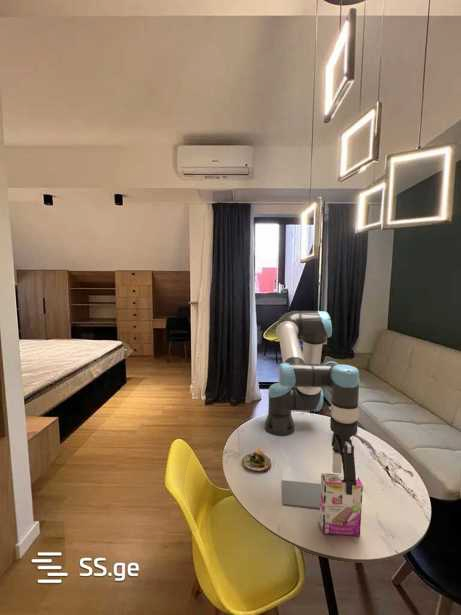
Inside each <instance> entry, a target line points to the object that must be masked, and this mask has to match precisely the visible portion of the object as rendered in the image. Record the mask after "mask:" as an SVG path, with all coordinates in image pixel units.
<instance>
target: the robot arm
mask: <svg viewBox="0 0 461 615" xmlns="http://www.w3.org/2000/svg"><path fill="white" fill-rule="evenodd" d="M332 326H333V325H332V320H331V316H330V314H329V313H328V312H327V311H323V310H321V311H320V310H291V311H289V312H286V313H284V314H283V315H282V316H281V317H280V318H279V319H278V320H277V322H276V324H275V335H276V337H277V339H278V340H279V345H280V353H281V358H282V363H279V365H278V381H279V382H275V383H273V384H271V385H270V386H269V388H268V394H267V396H268V407H267V408H268V410H267V411H268V413H267V417H266V420H265V422H264V429H265V431H266V432H267V433H268V434H271V435H273V436H276V437H277V436H280V437H285V436H290V435H292V434H293V433H295V422H294V420H293V416H292V411H304V412H305V411H306V412H319V411H320V410H321V409H322V408H323V404H324V390H323V388H329V389H330V391H331V392H330V394H331V395H330V397H331V398H330V405H331V406H328V409H329V410H330V420H329V421H330V423H329V424H330V426H329V427H330V430H331V431H332V432H333V433H332V439H331V443H330V445H331V447H332V451H333V452H332V470H331V472H332V474H341V475H344V479H343V480H341V481H342V482H343V491H342V503H343V504H352V505H353V489H354V486H356V485H357V483H356V475H357V473H356V464H355V463H356V462H355V446H354V445H353V441H352V439H351V437H355V436H356V435H357V434H358V425H359V424H358V420H359V390H360V389H359V388H360V382H361V381H360V371H359V369H358V368H357V367H355V366H352V365H349V364H339V363H338V362H336V361H327V362H324V363H321V361H322V360H321V359H322V350H323V345H324V344H325V343H326V342H327V338H331V337H332V335H333V327H332ZM299 338H300V340H301V341H302V348H301V344H300V343H301V342H300V340H299Z"/></svg>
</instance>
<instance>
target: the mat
mask: <svg viewBox="0 0 461 615" xmlns="http://www.w3.org/2000/svg"><path fill="white" fill-rule="evenodd" d="M281 487H282V488H281V489H282V492H281V493H282V506H284V507H285V506H286V507H295V508H296V507H297V508H305V509H312V510H314V509H315V510H320V494H321V483H315V482H306V481H305V482H304V481H295V480H293V481H292V480H284V479H283V480H281Z"/></svg>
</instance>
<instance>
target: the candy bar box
mask: <svg viewBox="0 0 461 615" xmlns="http://www.w3.org/2000/svg"><path fill="white" fill-rule="evenodd" d="M343 479H344V475H343V474H341V473H321V476H320V484H321V494H320V509H319V517H318V518H319V524H320V528H321V531H322V532H321V533H322V534H323V535H339V536H352V537H353V536H354V537H360V536H361V526H362V525H361V523H362V506H363V490H364V485H363V483H362V482H361V480H360V478H359V476H358V475H357V474H356V483H357V485H356V486H354V489H353V505H352V504H343V503H342V491H343V482H342V481H341V480H343Z"/></svg>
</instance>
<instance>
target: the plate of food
mask: <svg viewBox="0 0 461 615" xmlns="http://www.w3.org/2000/svg"><path fill="white" fill-rule="evenodd" d="M241 463H242V465H243V466H244V467H245V468H247V469H249V470H251V471H256V472H258V471H259V472H260V471H261V472H263V471H265V472H269V471H270V469H271V467H272V461H271V459H270V458H269V457H268V456H267V455H265V454H264V452H263V451H262V450H261V448H258V449H256V450H254V451H253V452H252V453H249V454H247V455H245V456H244V457H243V458H242V460H241Z"/></svg>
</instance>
